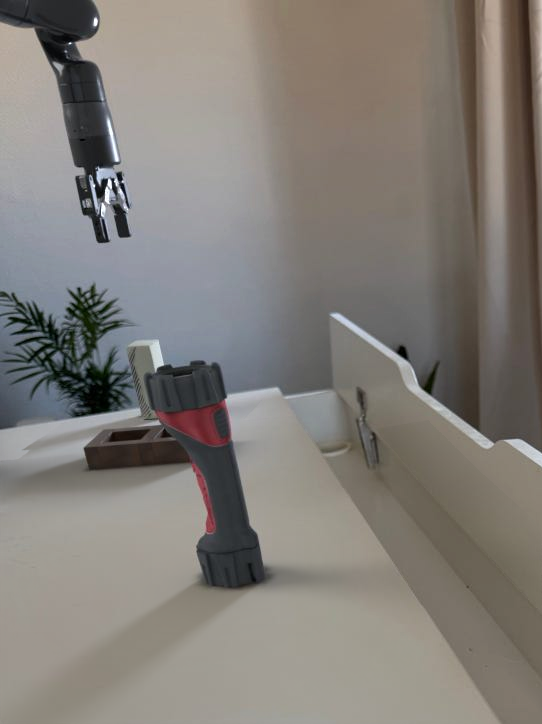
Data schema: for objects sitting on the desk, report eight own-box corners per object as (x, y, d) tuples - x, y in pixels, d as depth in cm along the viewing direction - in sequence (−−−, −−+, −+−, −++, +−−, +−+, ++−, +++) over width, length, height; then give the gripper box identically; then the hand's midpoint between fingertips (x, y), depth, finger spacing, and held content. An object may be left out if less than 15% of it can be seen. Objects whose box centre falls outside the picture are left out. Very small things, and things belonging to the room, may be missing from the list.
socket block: (89, 473, 146) (83, 447, 144) (109, 454, 155) (103, 429, 153) (210, 464, 146) (204, 437, 144) (222, 445, 155) (218, 420, 153)
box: (151, 412, 177) (135, 340, 172) (175, 411, 177) (159, 338, 171) (141, 420, 173) (124, 346, 167) (165, 419, 173) (149, 344, 167)
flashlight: (186, 575, 108) (139, 365, 98) (256, 561, 110) (217, 354, 100) (194, 601, 102) (144, 380, 91) (269, 586, 104) (228, 368, 93)
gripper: (89, 135, 167) (112, 237, 175) (48, 136, 155) (75, 246, 162) (131, 132, 166) (152, 234, 174) (93, 133, 154) (118, 243, 161)
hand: (115, 240), depth 168 cm, fingers open, 8 cm apart
